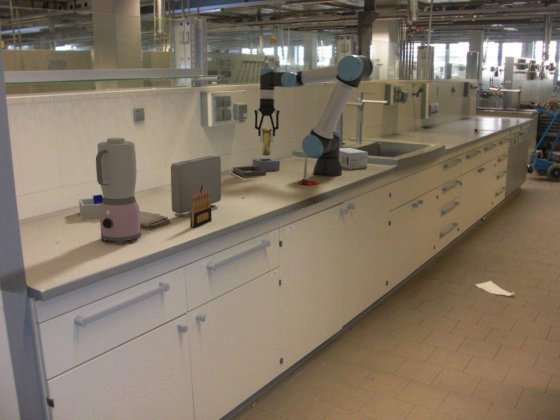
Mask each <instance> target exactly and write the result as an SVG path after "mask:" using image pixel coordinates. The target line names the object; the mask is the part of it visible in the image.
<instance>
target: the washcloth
mask: <svg viewBox="0 0 560 420" xmlns="http://www.w3.org/2000/svg"><path fill="white" fill-rule="evenodd" d="M139 211H140V210H139ZM170 223H171V221H170V219H169V218H168V216H164V215H160V213H152V212H149V211H148V212H147V211H140V230H146V231H150V230H154V229H157V228H161V227H163V226H166V225H169V224H170Z"/></svg>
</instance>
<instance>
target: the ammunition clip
mask: <svg viewBox="0 0 560 420" xmlns="http://www.w3.org/2000/svg"><path fill="white" fill-rule="evenodd" d="M210 205H211V204H210V196H209V190H208V189H207V192H206V190H204V193H203V191H201V194H200V191H199V192H198V194H197V192H196V194H195V195H194V193H193V195H192V204H191V211H190V214H189V215H190V217H189V218H190V223H189V224H190V228H193V229H195V228H198V227H200V226H203V225H205V224H208V223H211V222H213V221H212V220H213V219H212V211H211V208H212V207H210Z"/></svg>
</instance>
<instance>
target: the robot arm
mask: <svg viewBox="0 0 560 420" xmlns="http://www.w3.org/2000/svg"><path fill="white" fill-rule="evenodd" d="M373 72H374V63H373V61H372V59H370V57H367V55H357V54H347V55H345V56H343V57H342V58H340V60H339V61H338V63H337V64H335V65H329V66H323V67H319V68H318V67H317V68H312V69H311V68H310V69H306V70H298V71H276V70H275V68H274V67H260V74H259V81H260V82H259V98H260V99H259V107H258V109H254V118H255V119H254V129H255V130H257V131H258V132H257V133H258V134H257V135H258V137H260V141H259V142H260V143H263V131H262V125H263V121H264V118H265V117H269V119H270V123H271V126H272V128H271V129H272V131H271V144H272V143H274V137H275V136H276V131H277V130H278V129H279V128H280V127H279V119H280V118H279V115H280V110H279V109H276V108H275V88H276V87H279V88H294V87H295V88H296V87H297V88H299V87H303V86H309V85H315V84H322V83H323V84H324V83H329V82H335V81H336V84H335V86H334V88H333V90H332V91H331V94H330V97H329V99H328V100H327V103H326V105H325V107H324V109H323V111H322V113H321V115H320V118H319V120H318V122H317V124H316V125H315V126H313V127H312V128H311V130H310V132H309V134H308V135H306V136H304V137H303V139H302V141H301V149H302V151H303V153H304V155H306V157H309V158H311V159H316V161H315V163H314V166H313V173H314V174H315V175H318V176H323V177H324V176H325V177H326V176H327V177H335V176H341V175H342V172H343V169H342V167H341V165H340V161H339V151H340V149H341V133H340V131H337V130H335V128H336V126H337V124H338V121H339V119H341V116H342V114H343V111H344V110H345V107H346V105H347V103H348V101H349V99H350V97H351V95H352V93H353V91H354V90H356V89H358V88H359V86H360V83H361V82H362V81H363V80H364V81H365V80H366V79H369V77H370V76H371V75H372V74H373ZM259 112H260V113H261V117H260V120H259V121H260V122H259V125H258V118H259V117H258V114H259ZM274 113H275V124H274V118H273V114H274Z"/></svg>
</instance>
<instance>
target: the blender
mask: <svg viewBox="0 0 560 420" xmlns="http://www.w3.org/2000/svg"><path fill="white" fill-rule="evenodd" d="M95 167H96V168H95V170H96V181H97V184H98V185H100V188H101V191H102V197H103V201H102V203H101V206H100V218H99V223H100V226H99V227H100V239H101V242H105V241H111V242H116V245H124V244H125V242H126V241H131V240H135V239H137V238H139V237H140V238H141V235H142V232H141V230H142V229H140V206H139V203H138V202H137V200H136V197H135V193H136V184H137V183H136V182H137V174H138V173H137V157H136V146H135V143H134V142H133V141H129V140H127V141H126V139H125V138H124V137H109V138H107V139H106V141H100V142H98V143H97V154H96V157H95Z"/></svg>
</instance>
